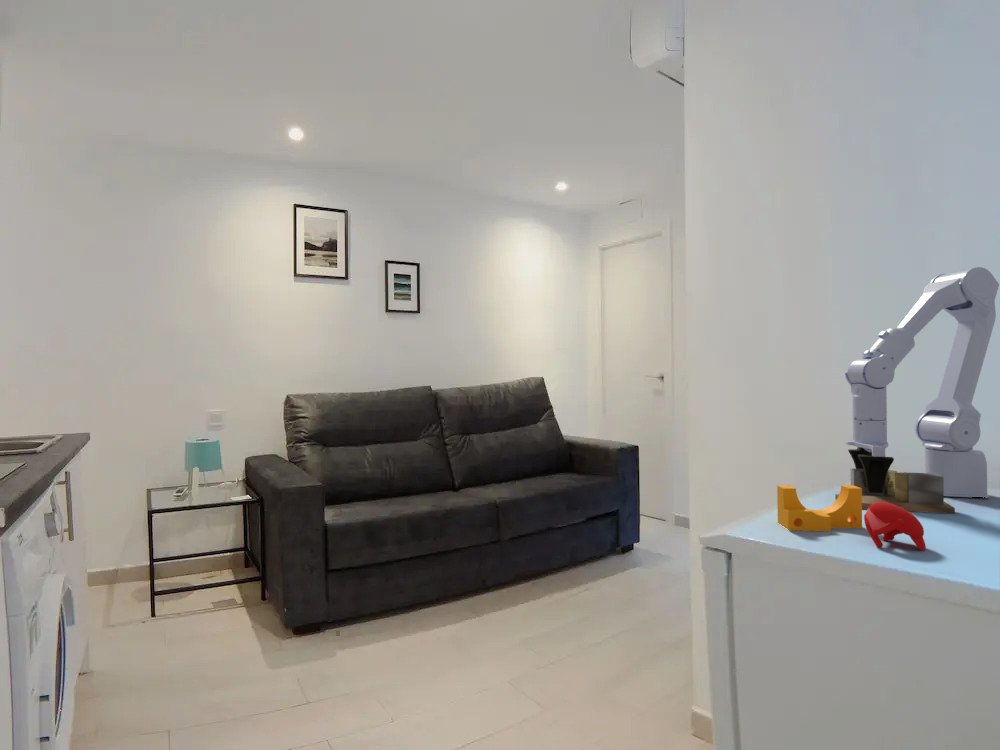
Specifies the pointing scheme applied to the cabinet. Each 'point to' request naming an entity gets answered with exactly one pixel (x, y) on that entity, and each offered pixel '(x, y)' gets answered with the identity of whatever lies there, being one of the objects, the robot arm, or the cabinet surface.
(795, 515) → the pipe clamp
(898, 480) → the hinge jig
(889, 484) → the grey post
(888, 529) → the red animal figurine
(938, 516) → the cabinet surface
